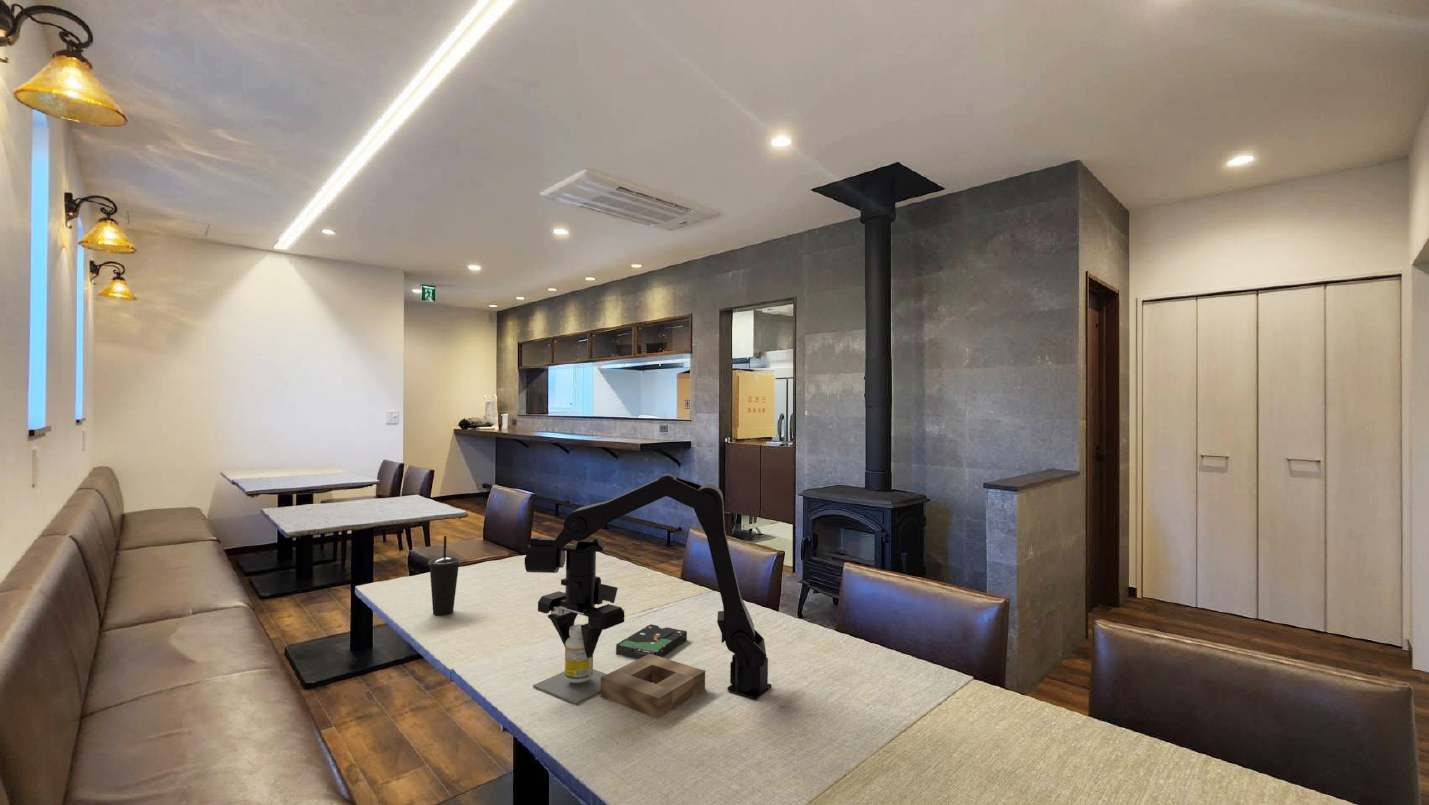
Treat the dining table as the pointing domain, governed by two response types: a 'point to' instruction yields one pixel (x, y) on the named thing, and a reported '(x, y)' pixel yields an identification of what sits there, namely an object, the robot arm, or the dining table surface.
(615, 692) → the socket block
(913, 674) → the dining table surface
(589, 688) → the rubber mat
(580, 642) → the supplement bottle
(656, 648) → the disk drive
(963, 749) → the dining table surface
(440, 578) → the drinking cup
